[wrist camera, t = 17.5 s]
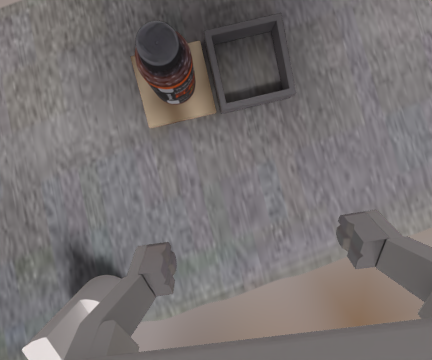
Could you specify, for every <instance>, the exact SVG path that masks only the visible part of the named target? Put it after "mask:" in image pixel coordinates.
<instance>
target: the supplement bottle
mask: <svg viewBox="0 0 432 360" xmlns="http://www.w3.org/2000/svg"><path fill="white" fill-rule="evenodd" d="M135 61H136V65H137V68H138V70H139V72H140V74H141V75H142V76H143V78H144V79H145V80H146V82H147V83H148V84H149V85H150V87H151V88H152V89H153V91H154V92H155V93H156V94H157V96H158V97H159V98H160V99H161V100H163V101H164V102H166V103H168V104H173V105H178V104H182V103H184V102H186V101H187V100H189V99H190V98H191V96H192V95H193V93H194V90H195V83H196V80H195V73H194V72H195V71H194V67H193V61H192V55H191V51H190V48H189V45H188V43H187V42H186V40H185V39H184V38H183V37H182V35H180V34H179V33H178V32H177V31H175V30H174V29H173V28H172V27H171V26H170V25H168V24H167V23H165V22H162V21H150V22H148V23H146V24H144V25H143V26H142V27H141V28H140V29H139V31H138V33H137V36H136V49H135Z"/></svg>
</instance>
